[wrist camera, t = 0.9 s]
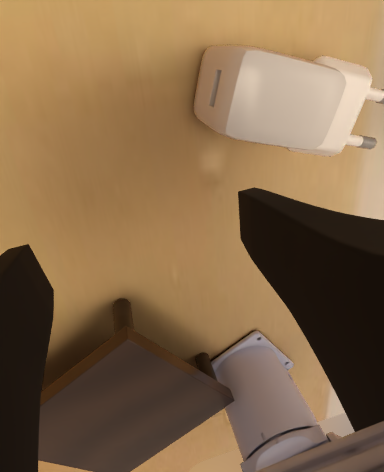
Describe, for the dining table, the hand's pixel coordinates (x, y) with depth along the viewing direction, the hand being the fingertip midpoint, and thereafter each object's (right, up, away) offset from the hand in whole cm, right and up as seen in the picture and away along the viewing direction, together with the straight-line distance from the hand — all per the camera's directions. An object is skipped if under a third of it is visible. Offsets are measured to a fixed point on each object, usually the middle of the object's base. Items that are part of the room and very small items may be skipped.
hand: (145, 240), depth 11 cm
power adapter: (+7, +9, +9) cm, 14 cm away
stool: (-5, -12, +18) cm, 23 cm away
